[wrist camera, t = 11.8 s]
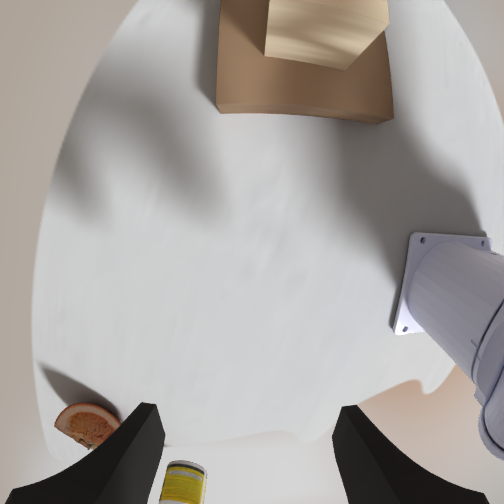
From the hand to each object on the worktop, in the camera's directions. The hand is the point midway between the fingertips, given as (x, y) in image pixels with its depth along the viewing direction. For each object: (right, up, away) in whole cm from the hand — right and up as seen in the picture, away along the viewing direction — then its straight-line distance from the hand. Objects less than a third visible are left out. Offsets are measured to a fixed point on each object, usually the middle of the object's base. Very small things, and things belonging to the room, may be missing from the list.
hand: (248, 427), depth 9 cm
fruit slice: (-15, -11, +13) cm, 23 cm away
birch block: (+3, +19, +3) cm, 20 cm away
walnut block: (+3, +20, +5) cm, 21 cm away
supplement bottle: (-7, -19, +15) cm, 25 cm away
